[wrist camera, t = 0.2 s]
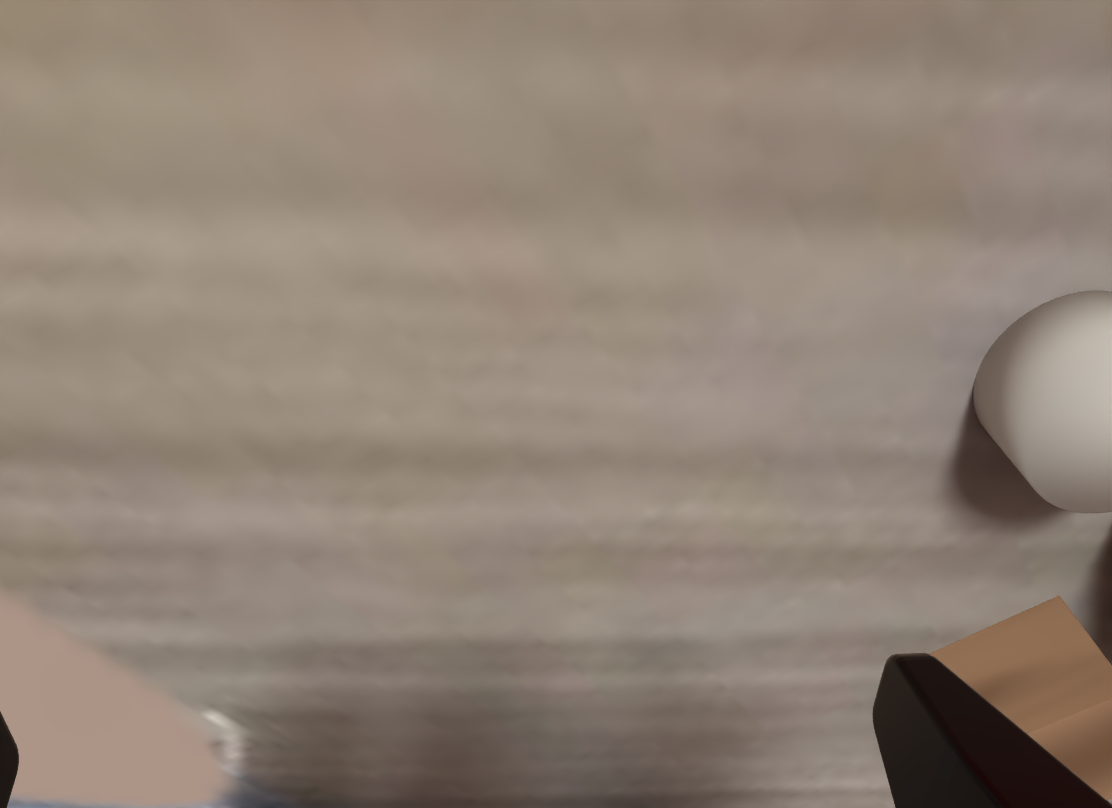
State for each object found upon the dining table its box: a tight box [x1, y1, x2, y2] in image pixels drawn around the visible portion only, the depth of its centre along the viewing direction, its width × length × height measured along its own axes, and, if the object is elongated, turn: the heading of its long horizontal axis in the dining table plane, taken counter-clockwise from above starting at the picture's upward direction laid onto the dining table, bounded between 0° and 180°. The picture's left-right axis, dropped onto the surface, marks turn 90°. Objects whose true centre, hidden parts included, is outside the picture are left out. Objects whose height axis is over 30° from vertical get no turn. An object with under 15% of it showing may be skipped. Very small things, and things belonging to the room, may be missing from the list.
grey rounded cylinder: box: [973, 291, 1112, 513], centre depth 23 cm, size 5×5×3 cm
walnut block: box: [930, 596, 1112, 800], centre depth 29 cm, size 5×5×4 cm
